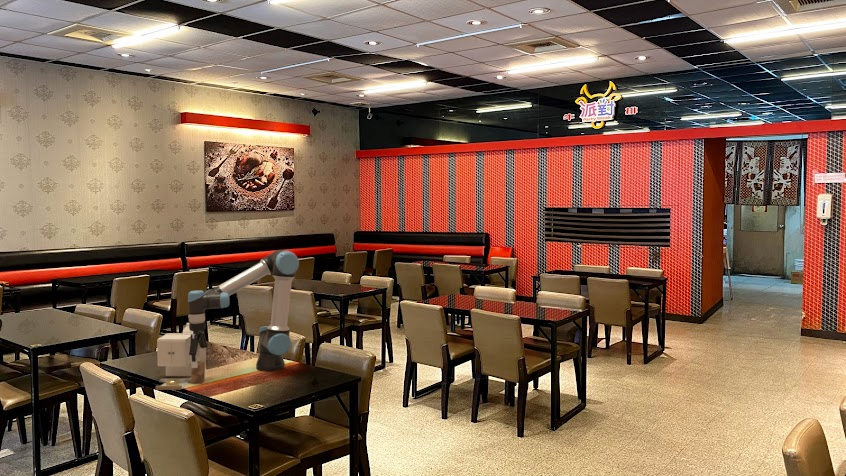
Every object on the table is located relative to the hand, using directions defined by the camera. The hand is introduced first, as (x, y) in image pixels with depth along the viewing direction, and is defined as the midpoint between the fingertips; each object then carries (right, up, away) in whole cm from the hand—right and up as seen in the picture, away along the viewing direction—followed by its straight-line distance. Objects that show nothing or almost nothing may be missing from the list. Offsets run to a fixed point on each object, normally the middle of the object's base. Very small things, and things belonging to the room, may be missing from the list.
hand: (198, 364), depth 325 cm
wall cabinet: (-14, -9, +6) cm, 17 cm away
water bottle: (-13, -8, +27) cm, 31 cm away
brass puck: (-11, -9, -7) cm, 16 cm away
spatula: (-9, -9, 0) cm, 12 cm away
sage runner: (-11, -9, -3) cm, 14 cm away
